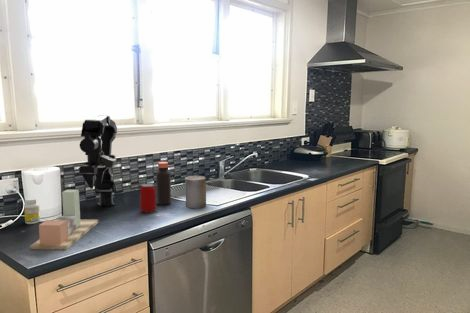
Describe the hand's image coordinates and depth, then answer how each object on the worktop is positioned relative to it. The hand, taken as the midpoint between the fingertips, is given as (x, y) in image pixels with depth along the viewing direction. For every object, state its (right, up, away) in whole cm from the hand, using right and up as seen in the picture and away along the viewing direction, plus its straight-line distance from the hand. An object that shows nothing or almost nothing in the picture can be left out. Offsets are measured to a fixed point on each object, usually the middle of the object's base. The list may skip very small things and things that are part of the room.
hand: (95, 186), depth 157 cm
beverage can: (+20, -12, +10) cm, 25 cm away
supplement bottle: (-23, -14, -7) cm, 28 cm away
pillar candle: (+40, -11, +19) cm, 46 cm away
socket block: (-3, -16, -31) cm, 35 cm away
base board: (-2, -16, -21) cm, 27 cm away
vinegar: (+25, -10, +22) cm, 35 cm away
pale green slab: (-2, -15, -24) cm, 28 cm away
